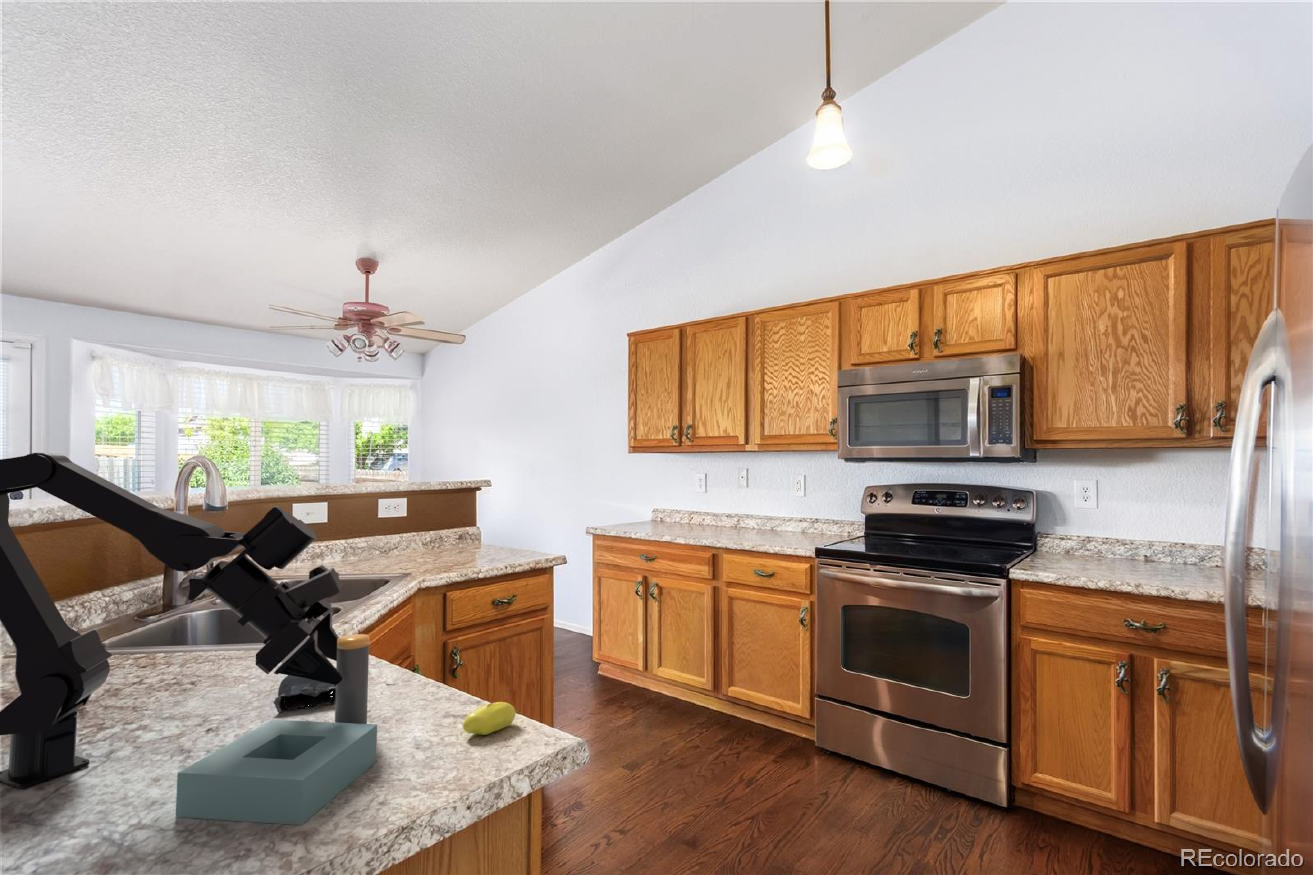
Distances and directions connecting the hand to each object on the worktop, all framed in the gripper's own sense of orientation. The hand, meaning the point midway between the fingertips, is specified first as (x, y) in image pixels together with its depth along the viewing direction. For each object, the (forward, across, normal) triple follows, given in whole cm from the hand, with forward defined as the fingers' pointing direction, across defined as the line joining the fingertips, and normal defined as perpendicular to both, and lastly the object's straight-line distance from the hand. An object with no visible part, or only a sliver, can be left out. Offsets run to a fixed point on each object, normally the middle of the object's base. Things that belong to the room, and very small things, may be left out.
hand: (345, 671), depth 86 cm
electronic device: (+1, +19, +12) cm, 23 cm away
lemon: (+20, -5, -7) cm, 22 cm away
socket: (+3, -13, +9) cm, 16 cm away
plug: (+7, 0, +6) cm, 9 cm away
